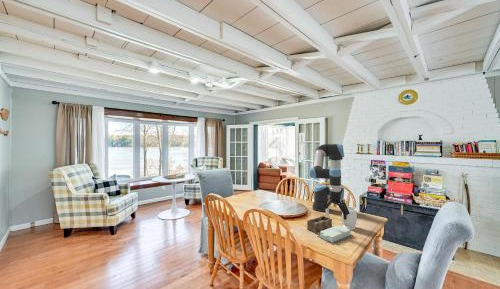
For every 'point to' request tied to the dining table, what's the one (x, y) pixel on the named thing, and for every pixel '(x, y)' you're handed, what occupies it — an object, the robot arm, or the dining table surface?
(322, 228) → the box
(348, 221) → the jar
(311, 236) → the dining table surface
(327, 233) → the lid
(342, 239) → the mat
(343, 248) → the dining table surface
